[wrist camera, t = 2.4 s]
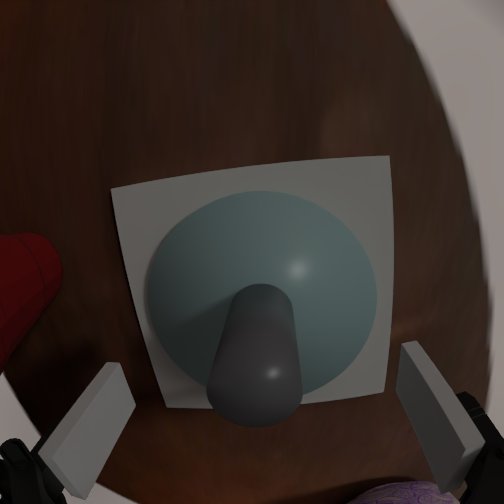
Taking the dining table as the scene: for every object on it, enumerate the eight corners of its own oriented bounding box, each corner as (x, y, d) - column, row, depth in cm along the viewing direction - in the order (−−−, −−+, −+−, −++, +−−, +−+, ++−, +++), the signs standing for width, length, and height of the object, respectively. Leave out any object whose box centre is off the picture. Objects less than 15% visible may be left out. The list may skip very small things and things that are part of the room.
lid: (133, 208, 20) (48, 239, 11) (368, 180, 18) (439, 193, 10) (179, 395, 23) (146, 480, 15) (368, 381, 22) (400, 468, 13)
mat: (114, 188, 20) (110, 189, 19) (385, 155, 18) (389, 155, 18) (168, 402, 25) (166, 407, 24) (381, 387, 23) (383, 392, 22)
